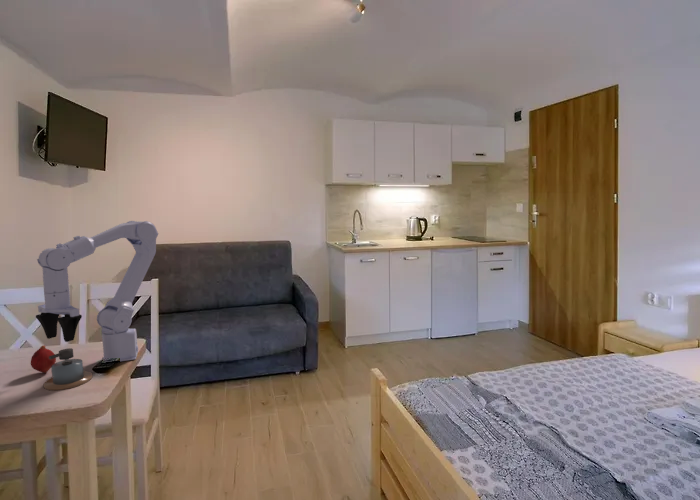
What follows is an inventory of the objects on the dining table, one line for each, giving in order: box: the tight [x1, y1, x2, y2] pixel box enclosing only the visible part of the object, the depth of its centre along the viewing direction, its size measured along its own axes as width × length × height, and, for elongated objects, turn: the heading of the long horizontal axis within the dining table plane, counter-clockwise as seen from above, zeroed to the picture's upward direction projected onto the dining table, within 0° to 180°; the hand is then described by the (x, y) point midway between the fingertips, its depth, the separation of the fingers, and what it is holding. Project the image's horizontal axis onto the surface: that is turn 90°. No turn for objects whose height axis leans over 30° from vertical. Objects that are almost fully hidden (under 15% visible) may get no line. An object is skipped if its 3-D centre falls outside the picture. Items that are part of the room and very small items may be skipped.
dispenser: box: [43, 358, 93, 391], centre depth 114 cm, size 11×11×6 cm
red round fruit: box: [30, 345, 57, 374], centre depth 120 cm, size 6×6×8 cm
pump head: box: [49, 347, 74, 362], centre depth 112 cm, size 5×5×3 cm
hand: (60, 339), depth 117 cm, fingers open, 7 cm apart
